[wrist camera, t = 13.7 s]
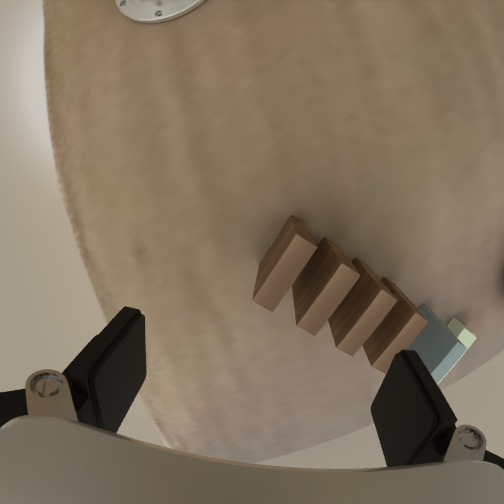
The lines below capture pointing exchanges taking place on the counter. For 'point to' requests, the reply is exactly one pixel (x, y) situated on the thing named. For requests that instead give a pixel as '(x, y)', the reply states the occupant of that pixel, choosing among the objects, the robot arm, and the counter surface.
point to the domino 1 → (283, 263)
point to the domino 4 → (394, 330)
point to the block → (461, 335)
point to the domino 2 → (322, 286)
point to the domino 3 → (360, 310)
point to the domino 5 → (437, 345)
